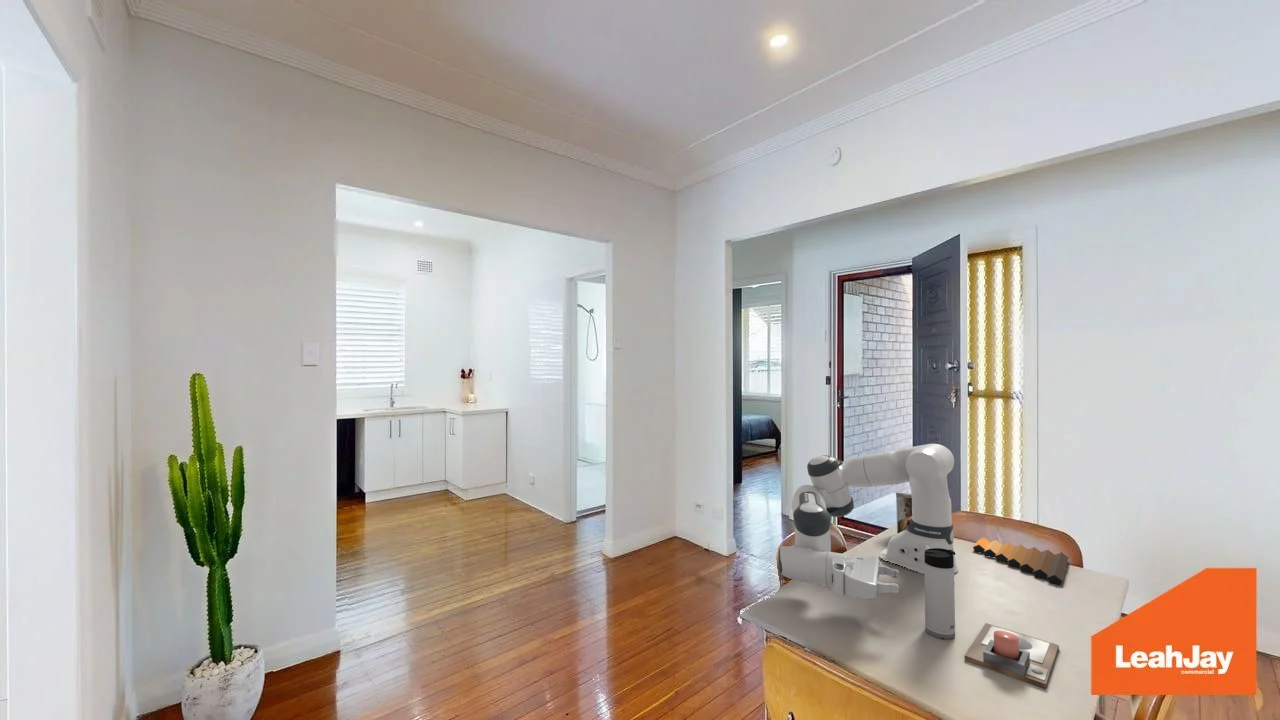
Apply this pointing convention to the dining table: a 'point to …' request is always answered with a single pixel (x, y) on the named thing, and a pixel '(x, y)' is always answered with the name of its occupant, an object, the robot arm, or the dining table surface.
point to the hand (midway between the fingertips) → (898, 581)
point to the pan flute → (1026, 559)
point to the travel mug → (939, 592)
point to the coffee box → (903, 510)
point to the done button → (1006, 644)
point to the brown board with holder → (1029, 667)
